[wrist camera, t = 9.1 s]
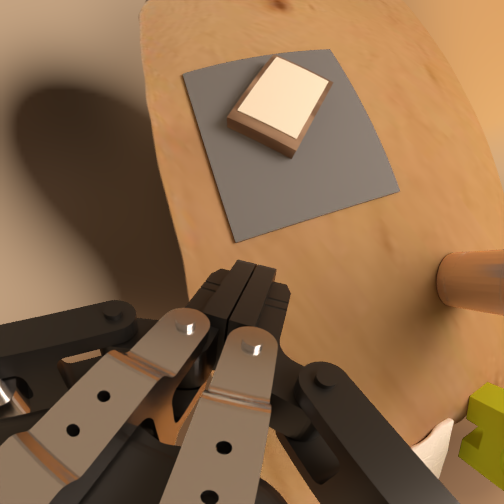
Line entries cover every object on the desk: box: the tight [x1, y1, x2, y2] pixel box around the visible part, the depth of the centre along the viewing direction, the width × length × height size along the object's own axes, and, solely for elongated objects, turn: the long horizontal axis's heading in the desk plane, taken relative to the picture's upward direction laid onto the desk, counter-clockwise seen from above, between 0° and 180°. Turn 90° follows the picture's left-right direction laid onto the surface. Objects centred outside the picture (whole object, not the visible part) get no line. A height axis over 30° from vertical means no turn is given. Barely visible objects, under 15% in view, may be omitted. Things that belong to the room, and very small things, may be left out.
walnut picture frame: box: [227, 54, 334, 159], centre depth 35 cm, size 3×10×14 cm
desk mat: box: [183, 49, 400, 243], centre depth 37 cm, size 26×28×1 cm
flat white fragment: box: [410, 418, 454, 479], centre depth 36 cm, size 21×4×25 cm
